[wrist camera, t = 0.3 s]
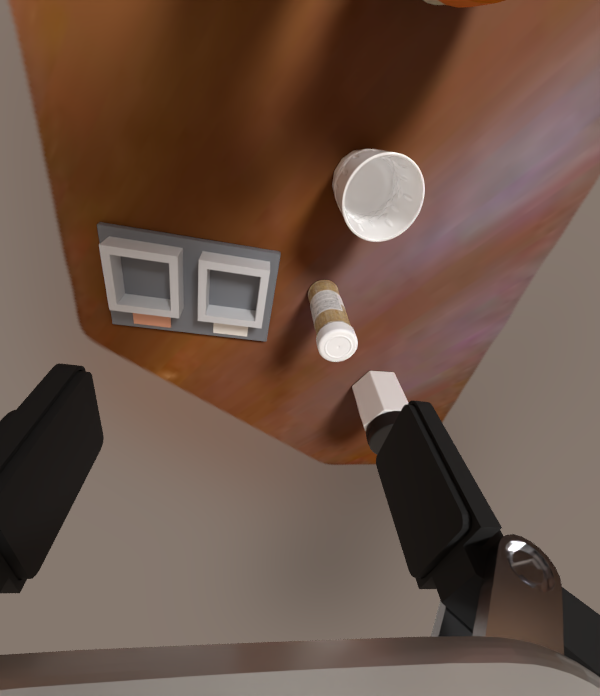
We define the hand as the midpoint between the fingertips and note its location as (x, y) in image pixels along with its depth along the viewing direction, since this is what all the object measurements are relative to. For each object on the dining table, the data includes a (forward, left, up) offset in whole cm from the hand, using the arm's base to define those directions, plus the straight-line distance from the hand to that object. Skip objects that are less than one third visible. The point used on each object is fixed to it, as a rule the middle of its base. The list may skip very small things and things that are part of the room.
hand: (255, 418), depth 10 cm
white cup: (-3, +11, -36) cm, 37 cm away
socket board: (+14, -8, -36) cm, 39 cm away
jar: (+29, +24, -36) cm, 52 cm away
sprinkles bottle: (+12, +10, -36) cm, 39 cm away
